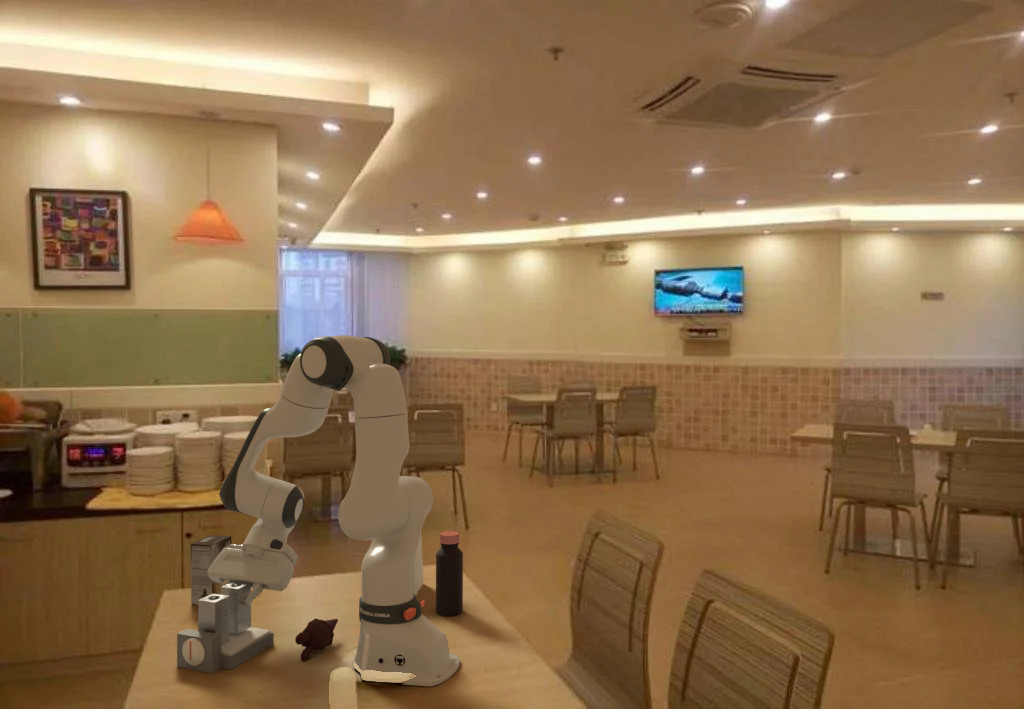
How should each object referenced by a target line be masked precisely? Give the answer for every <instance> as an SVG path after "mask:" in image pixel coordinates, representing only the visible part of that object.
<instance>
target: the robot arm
mask: <svg viewBox="0 0 1024 709" xmlns="http://www.w3.org/2000/svg"><path fill="white" fill-rule="evenodd" d="M343 389H346V390H347V391H348V392H349V393H350V394H351V397H352V399H353V400H352V401H353V411H354V412H353V416H354V426H355V444H356V446H355V448H356V449H355V450H356V455H355V464H354V470H353V474H352V478H351V482H350V485H349V489H348V491H347V493H346V494H345V496H344V498H343V499H342V501H340V504H339V506H338V511H337V518H338V524H339V527H340V528H341V531H342V532H343V533H344V534H345V536H347V537H349V538H350V539H351V540H354V541H371V543H370V546H369V548H368V549H367V552H366V553H365V555H364V556H363V558H362V562H361V568H360V570H361V572H360V573H361V575H360V576H361V584H360V585H361V586H360V587H361V590H360V592H361V595H360V597H359V602H358V604H359V605H358V610H359V611H358V619H359V622H360V626H359V636H358V643H357V647H356V648H357V649H356V652H355V656H354V660H355V662H356V664H357V665H358V666H359V668H360V669H361V670H362V671H364V670H374V671H375V670H376V671H381V672H402V673H412V674H414V675H416V677H414V678H412V679H409V680H407V682H406V683H404V684H403V685H407V686H418V687H419V686H421V687H433V686H434V687H435V686H436V685H440V684H442V683H443V682H445V681H447V680H448V679H449V678H451V677H452V676H453V675H455V673H456V672H457V671H458V669H459V667H460V663H461V662H460V657H459V655H458V654H455V653H452V652H450V647H449V641H448V637H447V635H446V633H444V632H443V631H442V630H441V629H440V628H439V627H438V626H436V625H435V624H434V623H433V622H431V620H430V619H428V618H427V617H426V616H425V615H424V614H422V608H423V607H424V606H425V601H426V600H425V599H423V600H421V601H420V602H419V600H418V599H417V595H416V596H415V594H414V563H415V555H416V550H417V546H418V541H419V538H420V534H421V535H422V529H423V526H424V523H425V522H426V519H427V517H428V515H429V513H430V512H431V510H432V508H433V504H434V494H433V490H432V488H431V486H430V484H428V482H427V481H426V480H425V479H423V478H421V477H418V476H413V475H412V476H411V475H401V472H402V471H401V470H402V466H403V464H404V461H405V459H406V457H407V456H408V454H409V452H410V437H409V435H410V434H409V422H408V410H407V409H408V408H407V403H406V395H405V390H404V386H403V382H402V378H401V376H400V372H399V371H398V370H397V368H395V366H392V365H391V354H390V352H389V349H388V347H387V346H386V344H385V343H384V342H382V341H381V340H379V339H376V338H373V337H369V336H363V337H361V336H354V335H348V334H346V335H345V334H343V335H342V334H341V335H334V336H333V335H332V336H328V335H324V336H320V337H319V336H318V337H316V338H313V339H311V340H310V341H308V342H307V343H306V344H305V345H304V346H303V347H302V350H301V353H299V354H298V355H296V357H295V358H294V360H293V362H292V363H291V366H290V368H289V370H288V373H287V375H286V378H285V380H284V383H283V385H282V389H281V393H280V395H279V398H278V400H277V402H276V403H275V404H274V405H273V406H272V407H267V408H265V409H264V410H262V412H261V413H259V415H258V416H257V418H256V419H255V421H254V423H253V425H252V426H251V428H250V430H249V433H248V434H247V436H246V438H245V440H244V443H243V444H242V446H241V449H240V450H239V453H238V455H237V457H236V459H235V461H234V462H233V465H232V467H231V469H230V470H229V473H228V474H227V475H226V477H225V479H224V480H223V482H222V484H221V485H220V486H221V487H220V490H219V498H220V501H221V503H222V505H223V506H224V507H225V509H226V510H228V511H232V512H236V513H243V514H246V515H248V516H252V517H254V518H257V520H256V522H255V523H254V524H253V525H252V527H251V528H250V530H249V531H248V534H247V536H246V538H245V540H244V542H242V544H235V543H231V544H230V545H229V546H227V547H224V548H223V549H222V551H221V552H220V553H219V555H218V556H217V557H216V559H215V560H214V562H213V563H212V565H211V566H210V568H209V569H208V576H209V577H210V578H211V579H212V580H213V581H214V582H218V583H223V584H222V585H223V586H225V585H227V584H229V583H231V582H234V581H239V582H246V583H251V592H250V593H249V594H248V595H244V597H243V599H242V601H241V603H242V604H243V605H247V606H250V605H251V606H252V603H253V601H254V600H255V599H256V598H258V596H259V595H261V594H262V592H263V591H264V590H268V591H276V592H282V591H284V590H286V589H287V587H288V586H289V584H290V582H291V580H292V577H293V574H294V572H295V565H296V563H298V561H299V556H298V554H297V553H296V551H295V550H294V549H293V548H292V547H291V546H290V545H289V544H288V543H287V541H288V536H289V534H290V533H291V532H292V530H293V529H294V528H295V526H296V524H297V523H298V522H299V519H300V517H301V515H302V513H303V511H304V508H305V494H304V491H303V490H302V488H300V487H299V486H298V485H297V484H294V483H290V482H288V481H285V480H282V479H279V478H275V477H272V476H269V475H266V474H263V473H260V472H258V471H257V470H256V468H255V466H256V464H257V462H258V459H259V458H260V455H261V453H262V452H263V449H264V448H265V446H266V443H267V442H268V441H269V440H272V439H279V438H298V437H304V436H307V435H310V434H312V433H315V432H316V431H318V429H320V428H321V427H322V426H323V423H324V422H325V419H326V417H327V414H328V412H329V408H330V406H331V401H332V399H333V393H334V392H335V391H337V392H338V391H342V390H343ZM228 547H229V548H228Z"/></svg>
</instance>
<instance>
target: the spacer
mask: <svg viewBox="0 0 1024 709" xmlns="http://www.w3.org/2000/svg"><path fill="white" fill-rule="evenodd" d="M251 591H252V587H251V583H246V582H239V581H234V582H231V583H229V584H227V585H225V586H222V587H221V595H227V596H229V633H233V634H239V633H241V632H243V631H245V630H247V629H248V628H250V627H252V604H251V605H250V606H247V605H243V604H242V603H241V601H242V599H243V597H244V595H248V594H249V593H250V592H251Z"/></svg>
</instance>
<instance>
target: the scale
mask: <svg viewBox="0 0 1024 709" xmlns="http://www.w3.org/2000/svg"><path fill="white" fill-rule="evenodd" d="M274 635H275V634H274V631H273V632H272V631H271V630H269V629H264V628H258V627H252V626H251V627H250V628H248V629H247V630H245V631H243V632H241V633H239V634H233V633H229V642H228V643H226V644H224V645H222V646H221V634H215V633H209V632H203V631H198V629H197V630H196V629H190V628H186V629H184V630H182V631H179V632H178V633H177V634H176V662H177V663H176V667H177V668H183V669H188V670H193V671H199V672H202V671H203V672H204V673H208V674H213V673H215V672H217V671H218V670H220V669H225V670H233V669H235V668H237V667H238V666H239V665H241V664H243V663H244V662H247V660H249V659H251V658H252V657H254V656H256V655H258V654H259V653H261V652H263V651H264V650H266V649H267V648H269V647H271V646H273V645H274V643H275V642H274V641H275V640H274V637H275V636H274Z"/></svg>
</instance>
